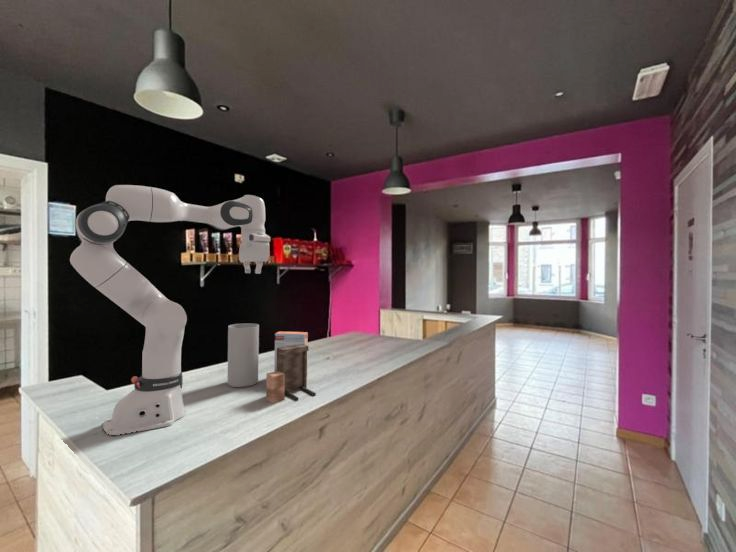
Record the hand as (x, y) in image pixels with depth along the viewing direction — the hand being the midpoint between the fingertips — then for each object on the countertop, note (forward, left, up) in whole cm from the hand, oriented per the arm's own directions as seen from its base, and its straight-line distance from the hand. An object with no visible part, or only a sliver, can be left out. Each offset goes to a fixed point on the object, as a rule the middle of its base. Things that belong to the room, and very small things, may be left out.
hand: (252, 273), depth 134 cm
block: (+5, -10, -48) cm, 49 cm away
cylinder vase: (+3, +16, -48) cm, 51 cm away
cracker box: (+23, +10, -48) cm, 54 cm away
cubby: (+15, -10, -48) cm, 51 cm away
